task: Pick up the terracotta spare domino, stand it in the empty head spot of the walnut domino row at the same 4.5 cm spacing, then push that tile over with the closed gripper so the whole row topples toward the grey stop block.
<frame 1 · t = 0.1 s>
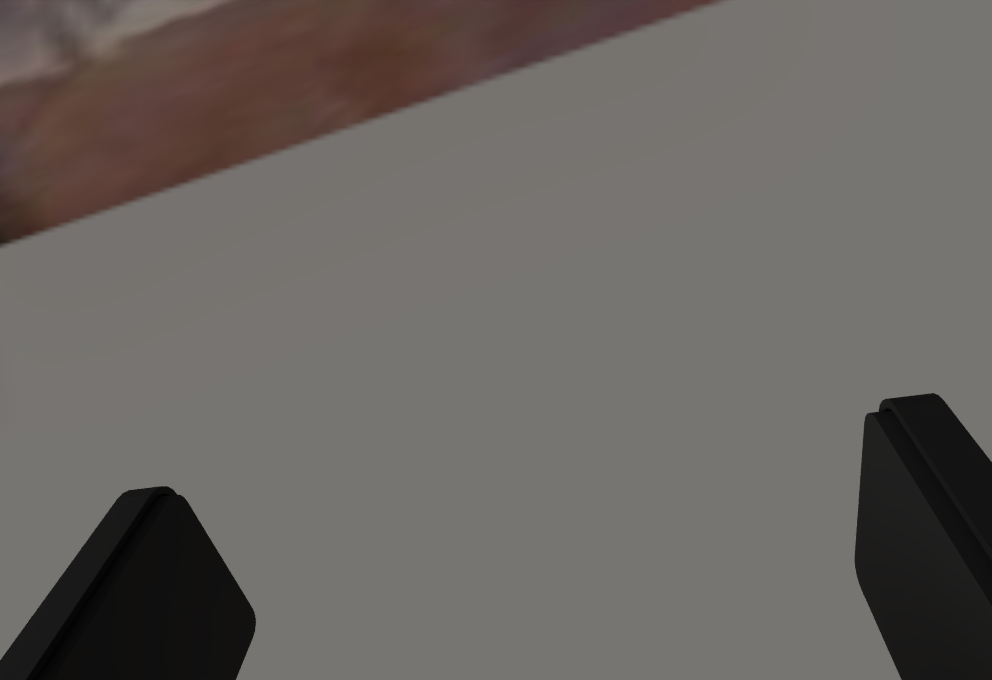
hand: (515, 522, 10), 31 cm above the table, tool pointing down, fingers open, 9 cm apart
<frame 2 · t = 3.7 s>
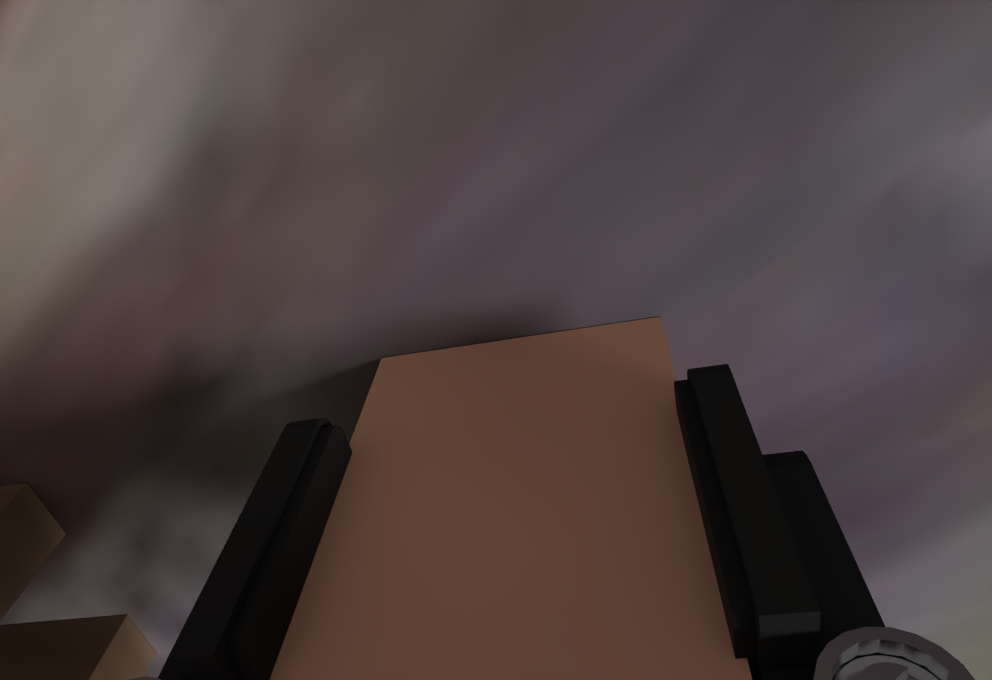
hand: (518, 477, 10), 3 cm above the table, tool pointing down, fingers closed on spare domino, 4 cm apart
domino 3: (57, 641, 18), on the table
spare domino: (524, 374, 13), on the table, touching gripper
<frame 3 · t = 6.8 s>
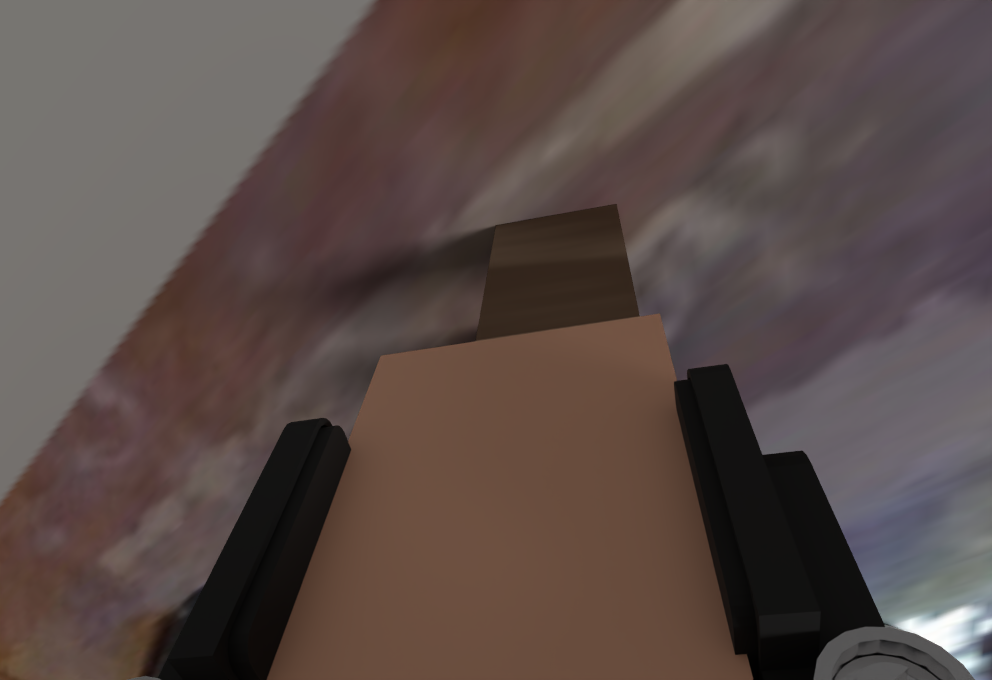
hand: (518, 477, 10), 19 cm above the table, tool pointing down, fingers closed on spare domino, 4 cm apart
domino 2: (558, 232, 29), on the table
spare domino: (524, 372, 13), point 17 cm above the table, touching gripper
when the fingers open (4 cm above the table, at t = 10.1 s): spare domino stays where it is, on the table.
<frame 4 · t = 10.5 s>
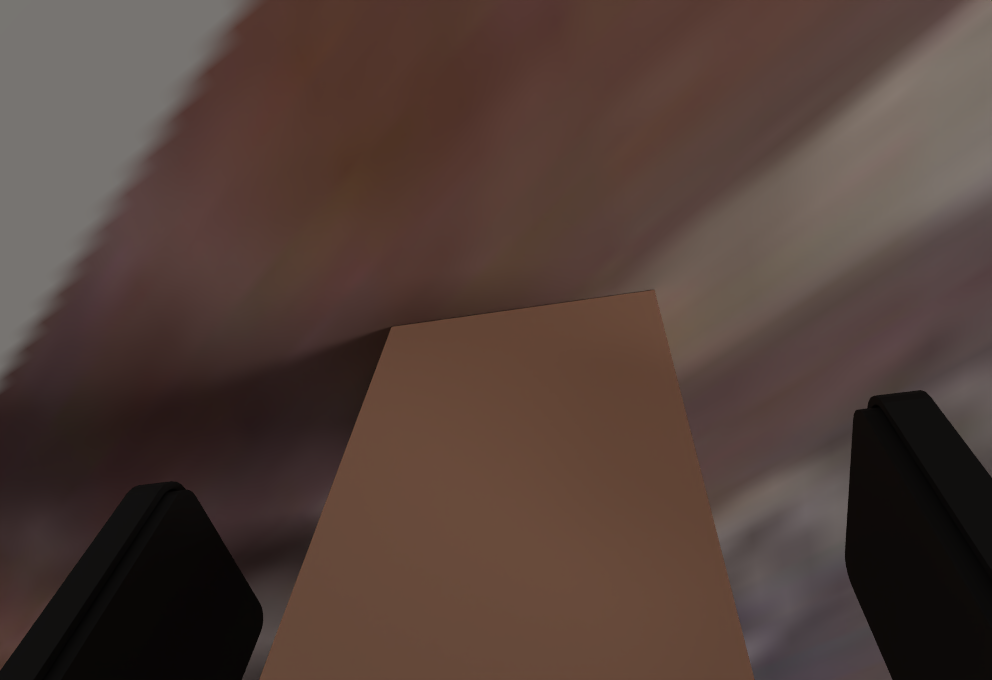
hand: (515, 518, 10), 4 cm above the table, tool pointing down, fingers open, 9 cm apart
spare domino: (526, 344, 14), on the table
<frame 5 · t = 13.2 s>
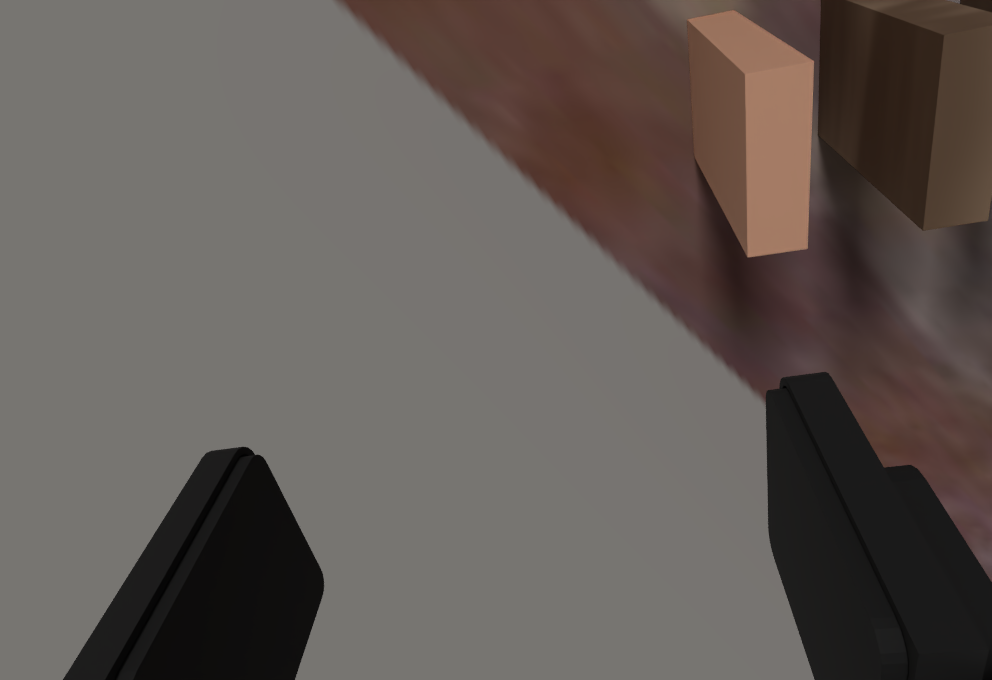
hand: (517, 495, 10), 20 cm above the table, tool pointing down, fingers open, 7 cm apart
domino 2: (843, 62, 25), on the table
spare domino: (713, 87, 26), on the table
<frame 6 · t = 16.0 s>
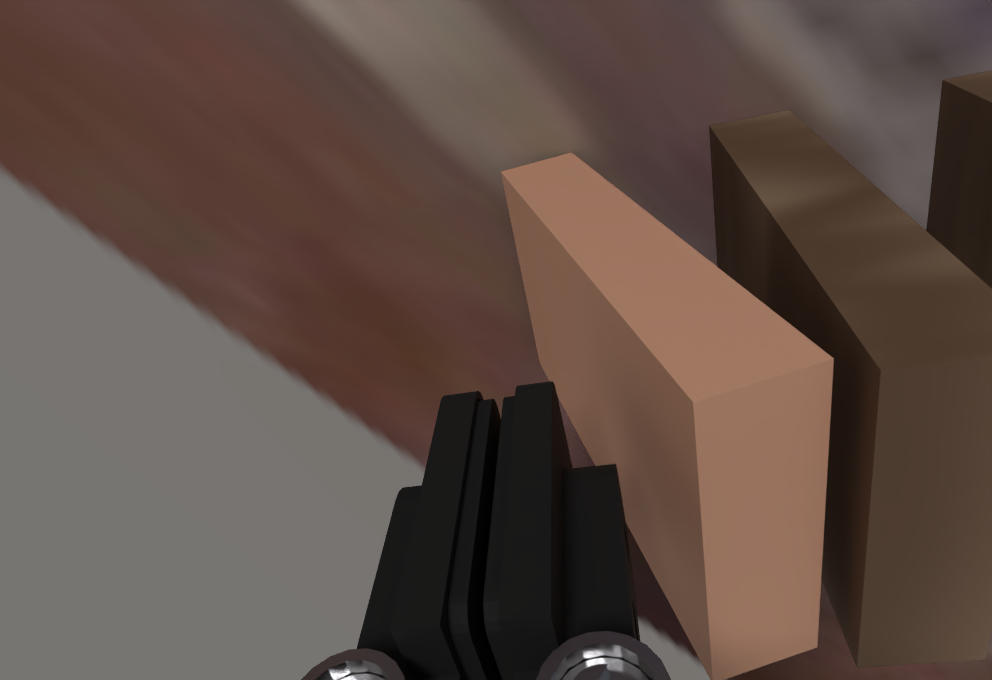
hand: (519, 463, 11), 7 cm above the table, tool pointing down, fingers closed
domino 3: (970, 191, 15), on the table
domino 2: (752, 228, 16), on the table
spare domino: (554, 265, 16), on the table, tilted 17°
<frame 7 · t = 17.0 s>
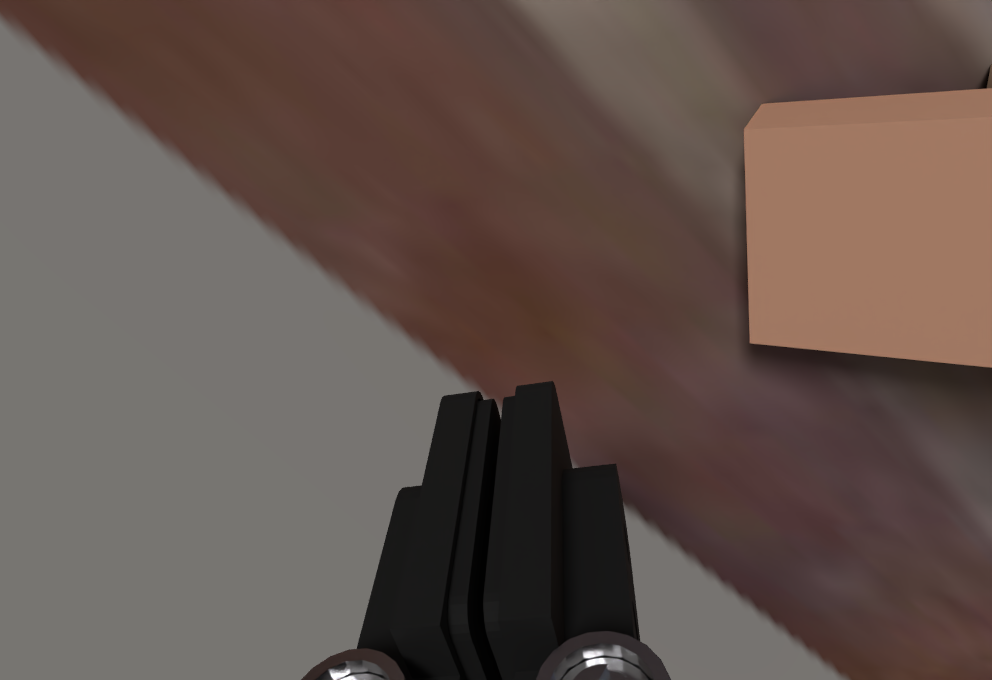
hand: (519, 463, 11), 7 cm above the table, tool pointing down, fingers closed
spare domino: (755, 229, 15), point 1 cm above the table, tilted 65°, touching domino 2
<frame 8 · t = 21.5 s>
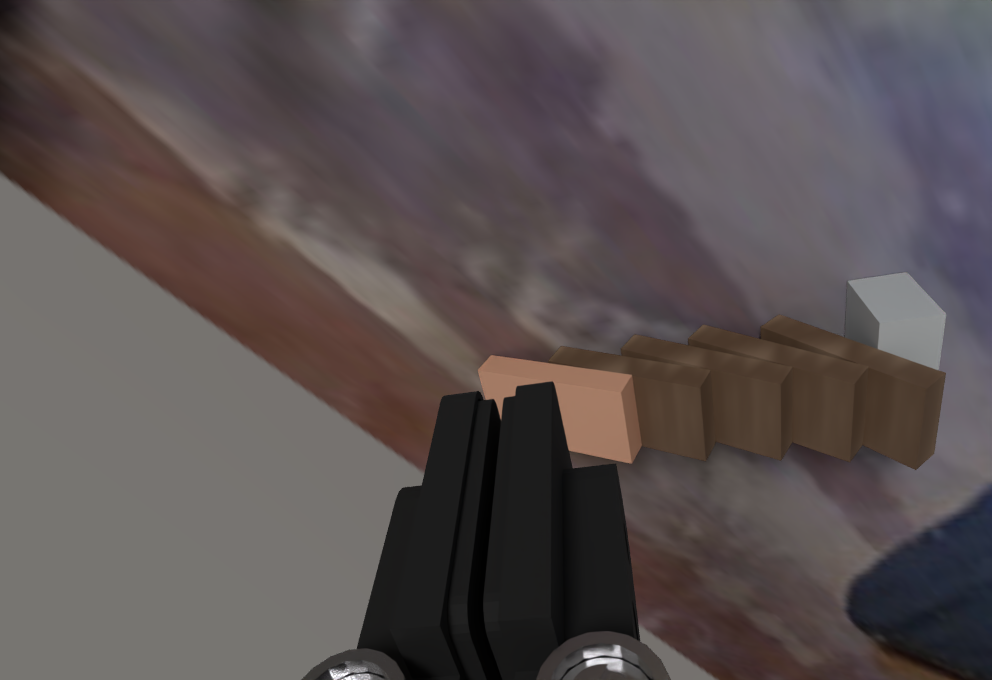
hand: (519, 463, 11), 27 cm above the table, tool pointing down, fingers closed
domino 3: (632, 376, 42), point 1 cm above the table, tilted 55°, touching domino 2, domino 4
stop block: (872, 338, 40), on the table
domino 2: (561, 387, 42), point 1 cm above the table, tilted 61°, touching domino 3, spare domino
domino 5: (770, 357, 40), point 1 cm above the table, tilted 38°, touching domino 4, stop block
domino 4: (698, 367, 41), point 1 cm above the table, tilted 49°, touching domino 3, domino 5
spare domino: (493, 395, 43), point 1 cm above the table, tilted 64°, touching domino 2
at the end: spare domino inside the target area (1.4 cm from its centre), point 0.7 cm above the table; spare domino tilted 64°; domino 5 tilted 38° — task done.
